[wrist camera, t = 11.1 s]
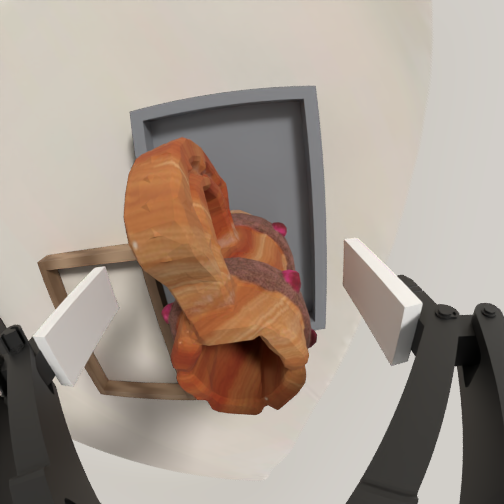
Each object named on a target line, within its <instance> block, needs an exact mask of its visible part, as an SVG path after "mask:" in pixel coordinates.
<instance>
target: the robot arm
mask: <svg viewBox="0 0 504 504" xmlns="http://www.w3.org/2000/svg"><path fill="white" fill-rule="evenodd" d="M343 286H344V288H345V289H346V291H347V293H348V294H349V296H350V297H351V299H352V301H353V302H354V304H355V305H356V307H357V309H358V310H359V312H360V314H361V315H362V317H363V319H364V320H365V322H366V323H367V325H368V327H369V329H370V330H371V332H372V334H373V335H374V337H375V339H376V340H377V342H378V344H379V346H380V347H381V349H382V351H383V352H384V354H385V356H386V358H387V359H388V361H389V363H390V365H391V366H393V365H396V364H400V363H403V362H407V361H408V358H409V355H410V352H411V350H412V352H413V353H414V355H415V356H416V357H415V360H414V363H413V366H412V369H411V372H410V375H409V378H408V380H407V383H406V386H405V389H404V392H403V394H402V396H401V399H400V401H399V404H398V406H397V409H396V411H395V413H394V416H393V418H392V420H391V422H390V425H389V427H388V429H387V431H386V433H385V435H384V437H383V440H382V442H381V444H380V445H379V448H378V449H377V451H376V453H375V455H374V457H373V459H372V461H371V463H370V465H369V466H368V468H367V470H366V472H365V473H364V475H363V477H362V478H361V480H360V482H359V484H358V485H357V487H356V488H355V490H354V492H353V493H352V495H351V496H350V498H349V500H348V501H347V502H346V504H417V503H418V498H417V493H418V490H419V488H420V485H421V483H422V480H423V478H424V475H425V473H426V470H427V468H428V465H429V462H430V460H431V457H432V454H433V451H434V448H435V445H436V442H437V439H438V435H439V432H440V429H441V425H442V422H443V418H444V414H445V410H446V406H447V402H448V397H449V393H450V388H451V383H452V377H453V372H454V366H457V370H458V377H459V386H460V395H461V407H462V424H463V468H462V484H461V494H460V504H504V316H503V314H502V312H501V311H500V309H498V308H497V307H496V306H495V305H492V304H490V303H480V304H478V305H477V306H476V308H475V310H474V313H473V315H459V313H458V311H457V310H456V309H454V308H453V307H451V306H448V305H443V304H438V305H437V304H436V303H435V302H434V301H433V300H432V299H431V298H430V297H429V296H428V295H427V294H426V293H425V292H424V291H422V289H421V288H420V287H419V286H417V284H416V283H415V282H414V281H413V280H412V279H410V278H408V277H406V276H404V275H398V276H396V275H395V274H394V273H393V272H392V271H391V270H390V269H389V268H388V267H387V266H386V265H385V264H384V263H383V262H382V261H381V260H380V259H379V258H378V257H377V256H376V255H375V254H374V253H373V252H372V251H371V250H370V249H369V248H368V247H367V246H366V245H365V244H364V243H362V242H361V241H360V240H359V239H358V238H349V239H344V267H343ZM118 309H119V305H118V303H117V300H116V297H115V294H114V291H113V288H112V285H111V282H110V279H109V276H108V273H107V270H106V267H105V266H104V267H96V268H94V269H93V270H92V271H91V272H90V273H89V274H88V275H87V276H86V277H85V278H84V279H83V280H82V281H81V282H80V283H79V284H78V285H77V287H76V288H75V289H74V290H73V291H72V292H71V293H70V294H69V295H68V296H67V297H66V298H65V300H64V301H63V302H62V303H61V304H60V305H59V306H58V307H57V308H56V310H55V311H54V312H53V313H52V314H51V315H50V316H49V318H48V319H47V320H46V321H45V322H44V323H43V325H42V326H41V327H40V328H39V329H38V331H37V332H36V333H35V334H34V335H33V337H32V338H31V339H30V340H29V341H28V339H27V338H26V336H25V334H24V332H23V330H22V328H21V326H20V325H13V326H10V327H8V328H7V329H6V327H5V326H4V324H3V322H2V321H1V319H0V391H1V392H2V395H1V396H0V504H101V503H100V502H99V500H98V498H97V497H96V495H95V492H94V490H93V489H92V487H91V484H90V482H89V480H88V478H87V476H86V473H85V471H84V469H83V467H82V464H81V462H80V459H79V457H78V455H77V452H76V450H75V447H74V444H73V441H72V439H71V436H70V433H69V430H68V427H67V424H66V421H65V418H64V414H63V411H62V407H61V404H60V400H59V397H58V393H57V389H56V386H55V384H54V383H53V381H52V380H53V378H54V377H55V376H56V377H57V379H58V380H59V382H60V383H61V385H65V386H72V387H74V385H75V383H76V381H77V379H78V378H79V376H80V374H81V372H82V370H83V368H84V367H85V365H86V363H87V361H88V359H89V358H90V356H91V354H92V352H93V351H94V349H95V347H96V346H97V344H98V342H99V340H100V339H101V337H102V335H103V334H104V332H105V330H106V329H107V327H108V325H109V324H110V322H111V321H112V319H113V317H114V316H115V314H116V312H117V311H118Z"/></svg>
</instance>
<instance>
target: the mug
mask: <svg viewBox="0 0 504 504" xmlns="http://www.w3.org/2000/svg"><path fill="white" fill-rule="evenodd" d="M124 223H125V228H126V233H127V238H128V243H129V246H130V248H131V250H132V252H133V254H134V256H135V258H136V259H137V261H138V263H139V265H140V266H141V267H142V268H143V269H144V271H145V272H147V273H148V274H149V275H151V276H152V277H153V278H155V279H156V280H158V281H159V282H161V283H162V284H164V285H165V286H166V287H167V288H168V289H169V291H170V292H171V294H172V295H173V296H174V298H175V301H174V302H173V303H170V304H168V305H167V306H165V307H164V308H163V310H162V312H161V315H162V317H163V319H164V321H165V322H166V323H167V324H169V325H170V329H171V333H172V337H173V341H174V344H173V348H172V352H171V362H172V365H173V368H175V369H177V381H178V384H179V385H180V386H181V388H182V389H183V390H184V391H186V392H188V393H190V394H191V395H193V397H194V398H196V399H197V400H206V401H208V403H209V404H210V406H211V408H212V409H213V410H216V411H218V412H224V413H232V414H247V415H257V414H259V413H261V412H262V410H263V408H264V407H265V406H267V405H269V406H271V407H273V408H275V409H277V410H279V409H280V408H281V407H282V406H284V405H285V404H286V403H287V402H288V401H289V400H291V399H292V398H293V397H294V396H295V395H297V393H298V392H299V391H300V389H301V388H302V387H303V385H304V384H305V380H306V369H305V364H306V363H307V362H308V358H309V353H308V348H310V347H312V346H313V345H314V344H315V343H316V340H317V334H316V332H315V331H314V330H313V329H312V328H311V323H310V317H309V313H308V310H307V307H306V304H305V301H304V299H303V296H302V293H301V292H300V288H301V280H300V275H299V273H298V272H297V271H295V264H294V258H293V255H292V252H291V249H290V247H289V245H288V242H287V240H286V238H285V235H286V233H287V227H286V226H285V225H284V224H283V223H280V222H274V223H271V222H269V221H267V220H266V219H264V218H262V217H258V216H254V215H251V214H249V213H247V212H244V211H241V210H231V211H230V208H229V198H228V191H227V186H226V183H225V181H224V180H223V179H222V178H221V177H220V176H219V174H218V173H217V171H216V169H215V168H214V166H213V164H212V163H211V161H210V160H209V158H208V157H207V155H206V154H205V153H204V151H203V150H202V148H201V147H199V146H198V145H197V144H195V143H194V142H193V141H191V140H190V139H186V138H183V137H181V138H178V139H175V140H172V141H170V142H168V143H166V144H163V145H161V146H159V147H157V148H154V149H153V150H150V151H148V152H146V153H144V154H142V155H140V156H139V157H138V158H137V159H136V160H135V162H134V164H133V166H132V168H131V170H130V172H129V176H128V181H127V187H126V193H125V204H124Z"/></svg>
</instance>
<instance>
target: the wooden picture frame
mask: <svg viewBox="0 0 504 504" xmlns="http://www.w3.org/2000/svg"><path fill="white" fill-rule="evenodd" d="M134 260H137V259H136V258H135V256H134V254H133V252H132V250H131V248H130V246H129V244H122V245H115V246H108V247H100V248H93V249H87V250H80V251H73V252H66V253H60V254H53V255H47V256H46V257H44V258H43V259H42V260H40V261H39V262H38V266H39V269H40V272H41V274H42V277H43V280H44V283H45V285H46V288H47V290H48V293H49V295H50V298H51V300H52V303H53V305H54V307H55V310H56V308H57V307H58V306H59V305H60V304H61V303H62V302H63V301H64V300H65V298H66V297H67V293H66V291H65V288H64V285H63V283H62V280H61V277H60V274H59V272H58V269H63V268H72V267H80V266H89V265H98V264H107V263H116V262H125V261H134ZM142 271H143V274H144V278H145V281H146V285H147V288H148V291H149V295H150V298H151V301H152V304H153V308H154V311H155V314H156V317H157V320H158V323H159V326H160V329H161V332H162V335H163V337H164V340H165V343H166V346H167V349H168V351H169V354H170V357H171V352H172V348H173V344H174V341H173V337H172V333H171V329H170V325H169V324H167V323H166V322H165V321H164V319H163V317H162V315H161V312H162V310H163V308H164V307H165V306H167V305H168V302H167V299H166V295H165V292H164V288H163V284H162V283H161V282H159V281H158V280H156V279H155V278H153V277H152V276H151V275H149V274H148V273H147V272H145V271H144V269H143V268H142ZM85 369H86V371H87V372H88V374H89V376H90V377H91V379H92V381H93V382H94V384H95V386H96V387H97V389H98V390H99V392H100V393H101V394H104V395H113V396H122V397H133V398H147V399H166V400H196V398H194V397H193V395H191V394H190V393H188V392H186V391H184V390H183V389H182V388H181V386H180V385H179V384H173V383H141V382H125V381H112V380H108V379H107V377H106V375H105V373H104V372H103V370H102V368H101V366H100V364H99V363H98V361H97V359H96V357H95V355H94V353H93V352H92V354H91V356H90V358H89V359H88V361H87V363H86V365H85ZM175 370H176V372H177V369H175Z"/></svg>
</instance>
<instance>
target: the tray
mask: <svg viewBox="0 0 504 504" xmlns="http://www.w3.org/2000/svg"><path fill="white" fill-rule="evenodd" d="M130 119H131V128H132V135H133V143H134V150H135V157H136V159H137V158H138V157H139V156H140V155H142V154H144V153H146V152H148V151H150V150H153V149H154V148H157V147H159V146H161V145H163V144H166V143H168V142H170V141H172V140H175V139H178V138H181V137H183V138H186V139H190V140H191V141H193V142H194V143H195V144H197V145H198V146H199V147H201V148H202V150H203V151H204V153H205V154H206V155H207V157H208V158H209V160H210V161H211V163H212V164H213V166H214V168H215V169H216V171H217V173H218V174H219V176H220V177H221V178H222V179H223V180H224V181H225V183H226V186H227V191H228V198H229V208H230V211H231V210H241V211H244V212H247V213H249V214H251V215H254V216H258V217H262V218H264V219H266V220H267V221H269V222H271V223H274V222H280V223H283V224H284V225H285V226H286V227H287V233H286V235H285V238H286V240H287V242H288V245H289V247H290V249H291V252H292V255H293V258H294V264H295V271H297V272H298V273H299V275H300V280H301V288H300V292H301V293H302V296H303V299H304V301H305V304H306V307H307V310H308V313H309V317H310V323H311V328H312V329H313V330H319V329H325V324H326V287H327V245H326V207H325V185H324V169H323V154H322V142H321V131H320V120H319V111H318V102H317V93H316V86H290V87H272V88H259V89H249V90H239V91H231V92H223V93H216V94H210V95H204V96H198V97H192V98H187V99H182V100H177V101H172V102H167V103H163V104H158V105H154V106H150V107H146V108H142V109H138V110H134V111H131V112H130ZM163 288H164V292H165V295H166V299H167V302H168V304H170V303H173V302H174V301H175V298H174V296H173V295H172V294H171V292H170V291H169V289H168V288H167V287H166V286H165V285H164V284H163Z"/></svg>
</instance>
